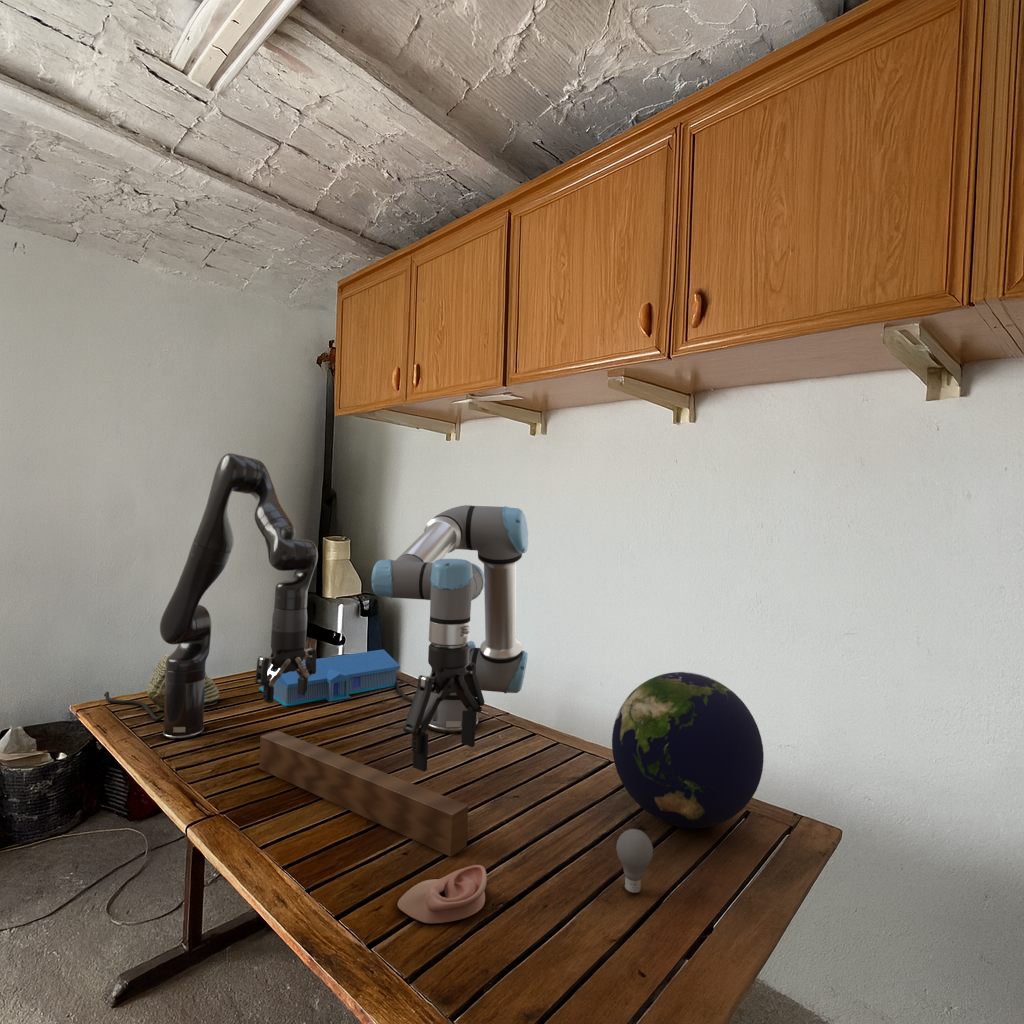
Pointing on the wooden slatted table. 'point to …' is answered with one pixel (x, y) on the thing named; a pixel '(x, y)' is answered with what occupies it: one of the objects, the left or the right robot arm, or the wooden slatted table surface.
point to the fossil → (158, 687)
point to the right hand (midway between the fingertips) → (445, 756)
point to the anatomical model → (446, 896)
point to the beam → (367, 792)
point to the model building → (339, 678)
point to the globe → (687, 750)
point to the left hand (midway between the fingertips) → (285, 698)
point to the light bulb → (634, 857)
